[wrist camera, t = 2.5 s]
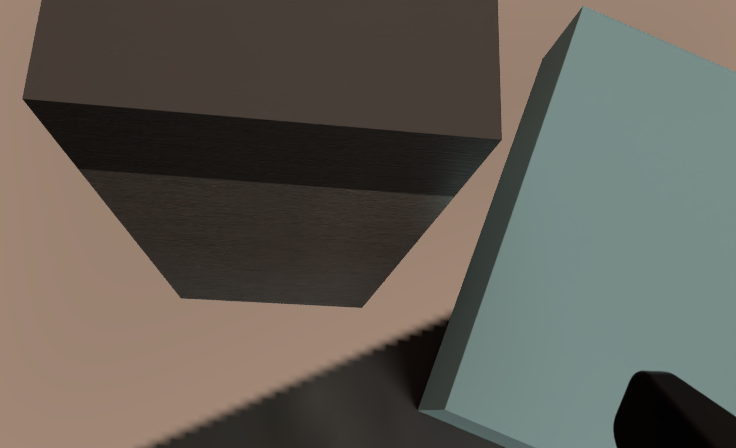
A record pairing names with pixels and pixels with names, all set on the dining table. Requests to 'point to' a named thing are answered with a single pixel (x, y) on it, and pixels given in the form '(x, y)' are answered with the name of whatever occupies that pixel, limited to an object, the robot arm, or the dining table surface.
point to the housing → (271, 131)
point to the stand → (599, 246)
